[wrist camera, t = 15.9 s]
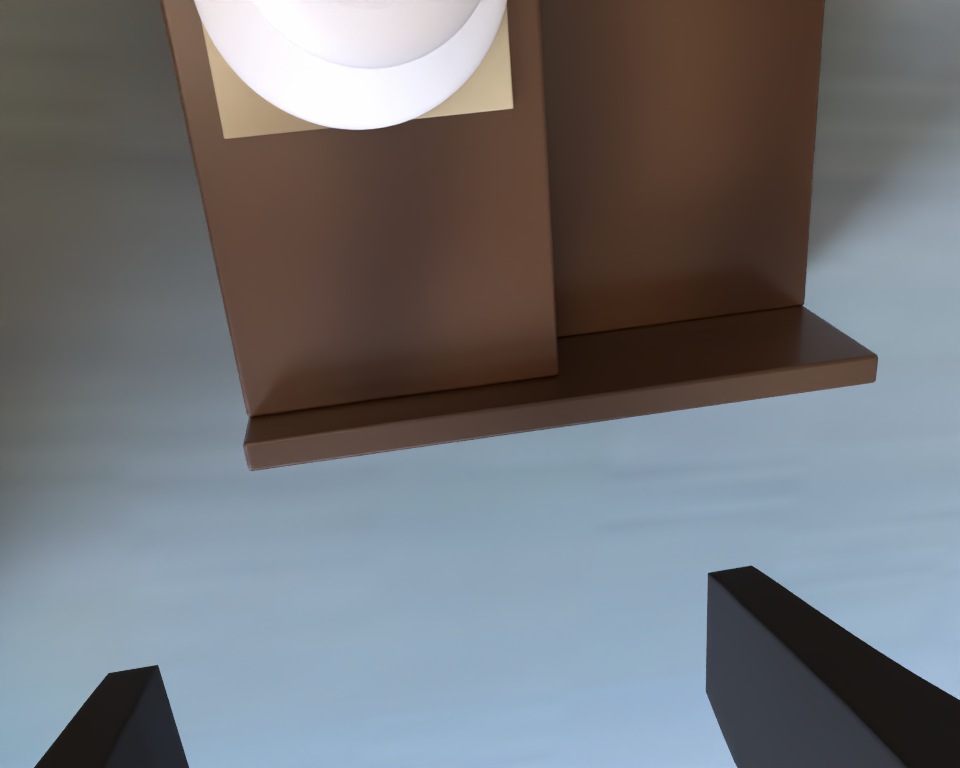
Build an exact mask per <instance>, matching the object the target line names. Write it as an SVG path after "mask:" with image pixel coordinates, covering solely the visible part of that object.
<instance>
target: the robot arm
mask: <svg viewBox="0 0 960 768" xmlns="http://www.w3.org/2000/svg"><path fill="white" fill-rule="evenodd" d="M706 693H707V695H708V698H709V701H710V703H711V706H712V708H713V711H714V713H715V716H716V718H717V721H718V723H719V726H720V728H721V731H722V733H723V736H724V738H725V740H726V743H727V745H728V748H729V750H730V752H731V755H732V757H733V759H734V762H735V764H736V765H737V767H738V768H960V700H958V699H957V698H955V697H953V696H952V695H950V694H948V693H946V692H945V691H943V690H941V689H940V688H938V687H936V686H934V685H933V684H931V683H929V682H928V681H926V680H924V679H922V678H921V677H919V676H917V675H916V674H914V673H912V672H911V671H909V670H908V669H906V668H904V667H903V666H901V665H900V664H898V663H896V662H895V661H893V660H891V659H890V658H888V657H887V656H885V655H884V654H882V653H880V652H879V651H877V650H876V649H874V648H873V647H871V646H870V645H868V644H867V643H865V642H864V641H862V640H860V639H859V638H857V637H856V636H854V635H853V634H851V633H850V632H848V631H847V630H845V629H844V628H842V627H841V626H839V625H838V624H836V623H835V622H834V621H832V620H831V619H829V618H828V617H826V616H825V615H823V614H822V613H820V612H819V611H818V610H816V609H815V608H813V607H812V606H810V605H809V604H807V603H806V602H804V601H803V600H802V599H800V598H799V597H797V596H796V595H794V594H793V593H791V592H790V591H789V590H787V589H786V588H784V587H783V586H781V585H780V584H778V583H777V582H776V581H774V580H773V579H771V578H770V577H768V576H767V575H765V574H764V573H762V572H761V571H759V570H758V569H756V568H755V567H753V566H747V567H741V568H735V569H729V570H723V571H717V572H711V573H708V600H707V658H706ZM34 768H189V766H188V763H187V760H186V756H185V753H184V750H183V746H182V743H181V740H180V736H179V733H178V730H177V726H176V723H175V720H174V717H173V713H172V710H171V707H170V703H169V700H168V697H167V693H166V690H165V687H164V684H163V680H162V677H161V674H160V670H159V667H158V665H155V666H149V667H143V668H137V669H131V670H125V671H119V672H113V673H108V675H107V676H106V677H105V678H104V680H103V681H102V682H101V683H100V685H99V686H98V687H97V688H96V689H95V691H94V692H93V693H92V694H91V696H90V697H89V698H88V699H87V701H86V702H85V703H84V704H83V706H82V707H81V708H80V710H79V711H78V712H77V713H76V715H75V716H74V717H73V719H72V720H71V721H70V722H69V724H68V725H67V726H66V728H65V729H64V730H63V731H62V733H61V734H60V735H59V737H58V738H57V739H56V740H55V742H54V743H53V744H52V746H51V747H50V748H49V749H48V751H47V752H46V753H45V754H44V756H43V757H42V758H41V760H40V761H39V762H38V763H37V765H36V766H35V767H34Z"/></svg>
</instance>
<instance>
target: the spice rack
mask: <svg viewBox="0 0 960 768" xmlns="http://www.w3.org/2000/svg"><path fill="white" fill-rule="evenodd" d="M824 3H825V0H507V3H506V7H505V11H504V15H503V18H502V21H501V24H500V27H499V29H498V32H497V34H496V36H495V39H494V41H493V43H492V45H491V47H490V49H489V50H488V52H487V54H486V56H485V57H484V59H483V60H482V62H481V63H480V65H479V66H478V67H477V69H476V70H475V71H474V73H473V74H472V75H471V76H470V78H469V79H468V80H467V81H466V82H465V83H464V84H463V85H462V86H461V87H460V88H459V89H458V90H457V91H456V92H455V93H453V94H452V95H451V96H450V97H449V98H447V99H446V100H445V101H443V102H442V103H441V104H439V105H438V106H436V107H435V108H433V109H431V110H430V111H428V112H426V113H424V114H422V115H420V116H418V117H416V118H413V119H411V120H408V121H406V122H403V123H400V124H396V125H392V126H388V127H383V128H376V129H365V130H350V129H339V128H332V127H327V126H322V125H318V124H315V123H311V122H308V121H306V120H303V119H300V118H298V117H295V116H293V115H291V114H289V113H287V112H285V111H283V110H281V109H279V108H278V107H276V106H274V105H273V104H271V103H270V102H268V101H267V100H265V99H264V98H263V97H261V96H260V95H259V94H257V93H256V92H255V91H254V90H252V89H251V88H250V87H249V86H248V85H247V84H246V83H245V82H244V81H243V80H242V79H241V78H240V77H239V76H238V75H237V74H236V73H235V72H234V71H233V70H232V68H231V67H230V66H229V65H228V64H227V62H226V61H225V60H224V58H223V57H222V56H221V54H220V53H219V51H218V50H217V48H216V47H215V45H214V43H213V42H212V40H211V38H210V37H209V35H208V33H207V31H206V29H205V27H204V25H203V23H202V20H201V18H200V16H199V13H198V11H197V8H196V5H195V2H194V0H160V5H161V10H162V14H163V19H164V24H165V29H166V33H167V38H168V43H169V48H170V52H171V57H172V62H173V67H174V71H175V76H176V81H177V85H178V90H179V95H180V100H181V104H182V109H183V114H184V119H185V123H186V128H187V133H188V138H189V142H190V147H191V152H192V156H193V161H194V166H195V171H196V175H197V180H198V185H199V190H200V194H201V199H202V204H203V209H204V213H205V218H206V223H207V227H208V232H209V237H210V242H211V246H212V251H213V256H214V261H215V265H216V270H217V275H218V280H219V284H220V289H221V294H222V298H223V303H224V308H225V313H226V317H227V322H228V327H229V332H230V336H231V341H232V346H233V351H234V355H235V360H236V365H237V369H238V374H239V379H240V384H241V388H242V393H243V398H244V403H245V407H246V412H247V414H248V416H249V421H248V425H247V430H246V435H245V439H244V444H243V447H244V452H245V456H246V461H247V465H248V468H249V470H250V471H255V470H262V469H269V468H276V467H283V466H290V465H297V464H304V463H311V462H318V461H325V460H332V459H339V458H346V457H353V456H360V455H367V454H374V453H381V452H388V451H395V450H402V449H409V448H416V447H424V446H431V445H438V444H445V443H452V442H459V441H466V440H473V439H480V438H487V437H494V436H501V435H508V434H515V433H522V432H529V431H536V430H543V429H550V428H557V427H564V426H571V425H578V424H585V423H592V422H599V421H606V420H614V419H621V418H628V417H635V416H642V415H649V414H656V413H663V412H670V411H677V410H684V409H691V408H698V407H705V406H712V405H719V404H726V403H733V402H740V401H747V400H754V399H761V398H768V397H775V396H782V395H789V394H796V393H803V392H811V391H818V390H825V389H832V388H839V387H846V386H853V385H860V384H867V383H873V382H875V380H876V372H877V363H878V356H877V355H876V354H875V353H873V352H872V351H870V350H869V349H867V348H866V347H864V346H863V345H861V344H860V343H858V342H857V341H855V340H854V339H852V338H851V337H849V336H848V335H846V334H845V333H843V332H841V331H840V330H838V329H837V328H835V327H834V326H832V325H831V324H829V323H828V322H826V321H825V320H823V319H822V318H820V317H819V316H817V315H816V314H814V313H813V312H811V311H810V310H808V309H807V308H805V307H804V306H802V305H804V298H805V283H806V269H807V254H808V239H809V224H810V210H811V195H812V180H813V165H814V151H815V136H816V121H817V107H818V92H819V77H820V62H821V48H822V33H823V18H824Z"/></svg>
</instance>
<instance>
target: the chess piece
mask: <svg viewBox="0 0 960 768" xmlns="http://www.w3.org/2000/svg"><path fill="white" fill-rule="evenodd" d="M194 2H195V5H196V8H197V11H198V13H199V16H200V18H201V20H202V23H203V25H204V27H205V29H206V31H207V33H208V35H209V37H210V38H211V40H212V42H213V43H214V45H215V47H216V48H217V50H218V51H219V53H220V54H221V56H222V57H223V58H224V60H225V61H226V62H227V64H228V65H229V66H230V67H231V68H232V70H233V71H234V72H235V73H236V74H237V75H238V76H239V77H240V78H241V79H242V80H243V81H244V82H245V83H246V84H247V85H248V86H249V87H250V88H251V89H252V90H254V91H255V92H256V93H257V94H259V95H260V96H261V97H263V98H264V99H265V100H267V101H268V102H270V103H271V104H273V105H274V106H276V107H278V108H279V109H281V110H283V111H285V112H287V113H289V114H291V115H293V116H295V117H298V118H300V119H303V120H306V121H308V122H311V123H315V124H318V125H322V126H327V127H332V128H339V129H350V130H365V129H376V128H383V127H388V126H392V125H396V124H400V123H403V122H406V121H408V120H411V119H413V118H416V117H418V116H420V115H422V114H424V113H426V112H428V111H430V110H431V109H433V108H435V107H436V106H438V105H439V104H441V103H442V102H443V101H445V100H446V99H447V98H449V97H450V96H451V95H452V94H453V93H455V92H456V91H457V90H458V89H459V88H460V87H461V86H462V85H463V84H464V83H465V82H466V81H467V80H468V79H469V78H470V76H471V75H472V74H473V73H474V71H475V70H476V69H477V67H478V66H479V65H480V63H481V62H482V60H483V59H484V57H485V56H486V54H487V52H488V50H489V49H490V47H491V45H492V43H493V41H494V39H495V36H496V34H497V32H498V29H499V27H500V24H501V21H502V18H503V15H504V11H505V7H506V3H507V0H194Z"/></svg>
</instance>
